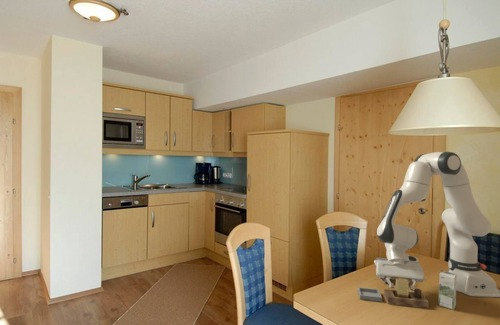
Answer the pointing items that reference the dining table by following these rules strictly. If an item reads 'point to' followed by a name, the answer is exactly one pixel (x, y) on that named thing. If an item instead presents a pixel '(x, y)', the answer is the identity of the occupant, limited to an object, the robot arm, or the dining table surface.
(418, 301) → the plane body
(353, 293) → the dining table surface
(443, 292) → the syrup box
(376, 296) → the tray
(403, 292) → the gold rectangular block
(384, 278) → the food container
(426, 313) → the dining table surface
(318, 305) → the dining table surface
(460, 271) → the robot arm
